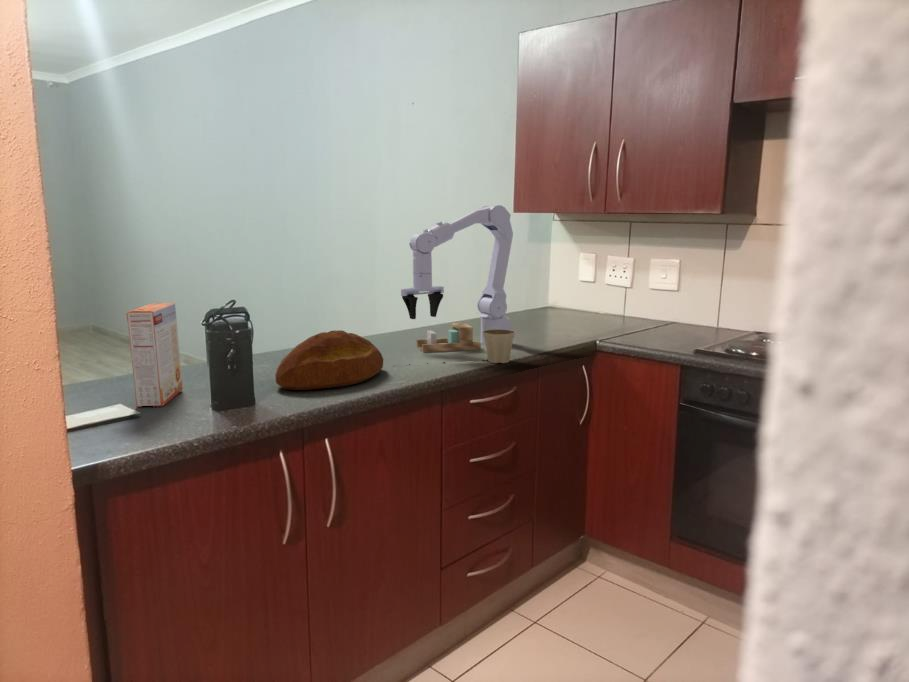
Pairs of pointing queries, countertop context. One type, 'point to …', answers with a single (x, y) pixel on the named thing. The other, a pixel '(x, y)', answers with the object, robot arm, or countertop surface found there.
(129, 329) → the cracker box
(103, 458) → the countertop surface
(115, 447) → the countertop surface
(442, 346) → the wooden frame
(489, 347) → the flower pot
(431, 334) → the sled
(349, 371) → the bread
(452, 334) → the block
